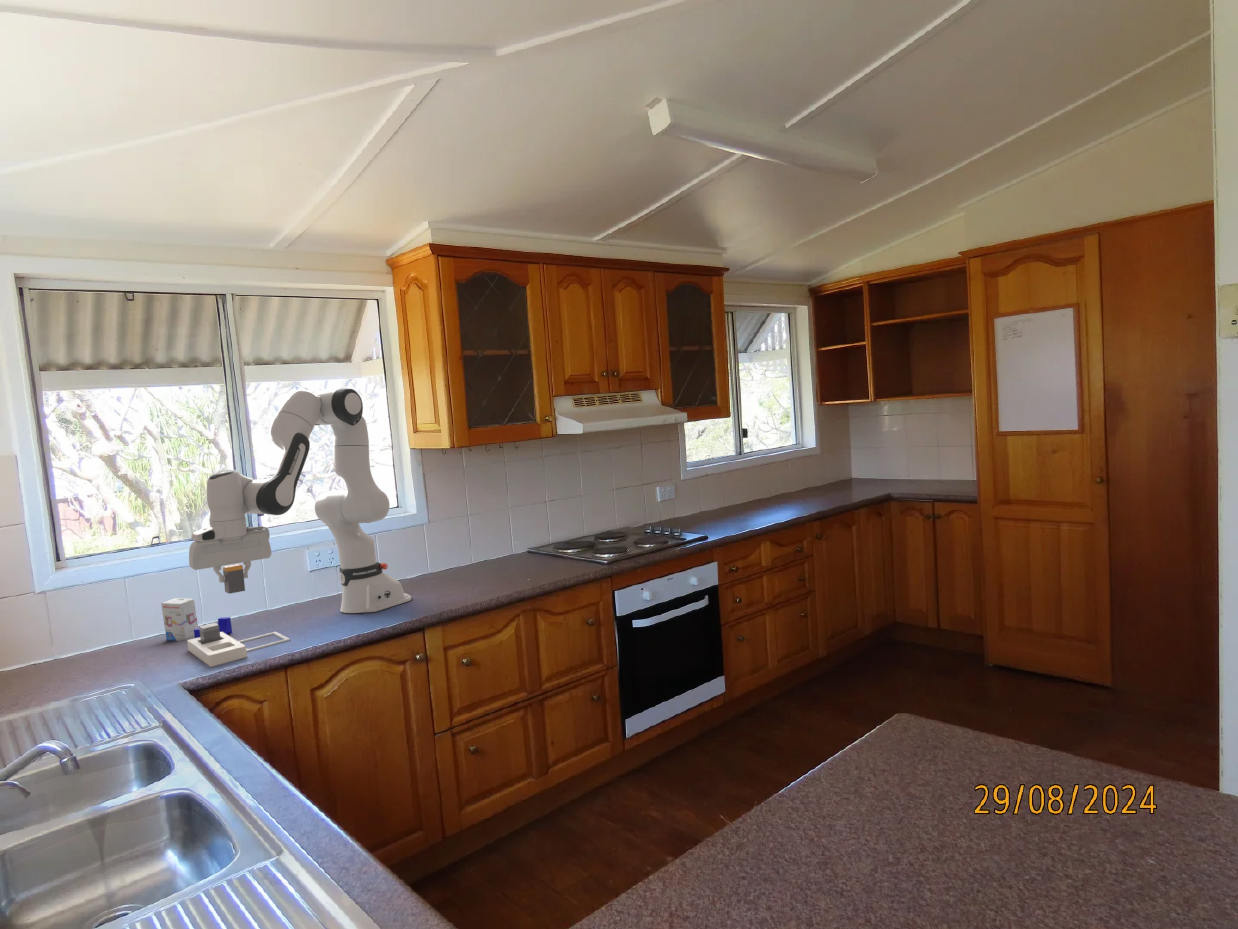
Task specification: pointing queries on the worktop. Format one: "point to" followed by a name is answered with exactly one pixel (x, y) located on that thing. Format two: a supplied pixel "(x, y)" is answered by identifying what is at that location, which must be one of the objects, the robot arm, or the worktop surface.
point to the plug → (234, 578)
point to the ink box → (179, 618)
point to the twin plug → (209, 633)
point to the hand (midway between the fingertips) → (233, 580)
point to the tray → (266, 644)
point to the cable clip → (223, 626)
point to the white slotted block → (217, 650)
